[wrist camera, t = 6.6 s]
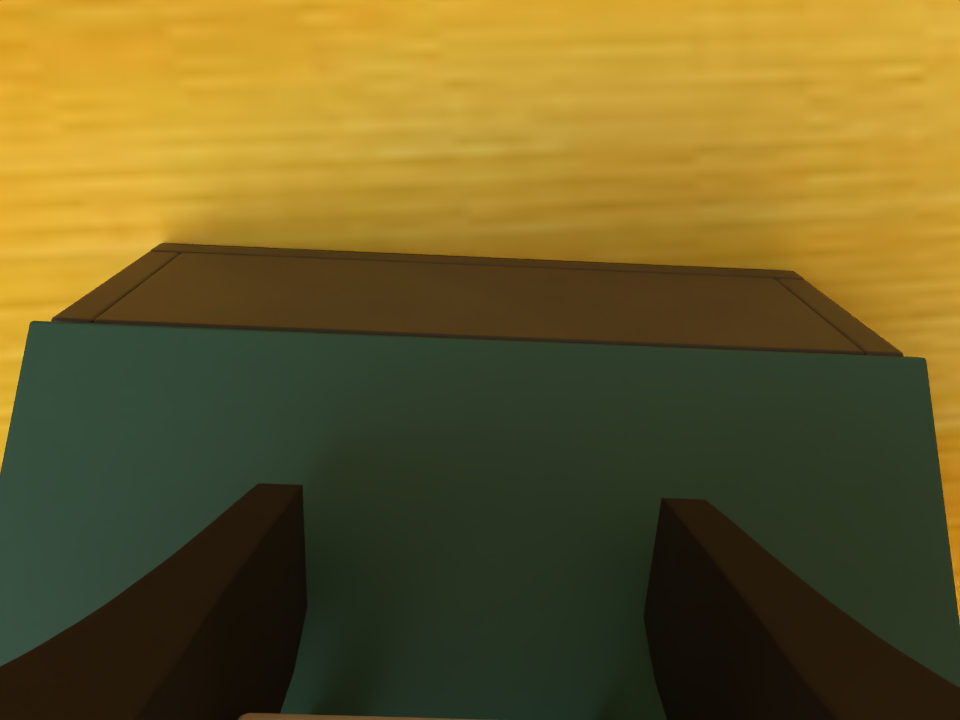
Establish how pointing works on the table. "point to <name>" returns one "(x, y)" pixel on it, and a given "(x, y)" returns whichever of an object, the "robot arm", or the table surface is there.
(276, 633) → the robot arm
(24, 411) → the bin lid
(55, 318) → the desk bin
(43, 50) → the table surface
